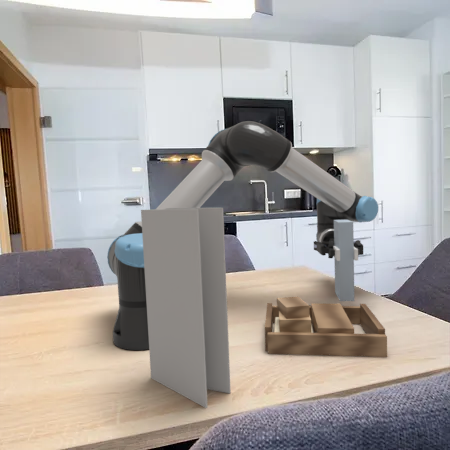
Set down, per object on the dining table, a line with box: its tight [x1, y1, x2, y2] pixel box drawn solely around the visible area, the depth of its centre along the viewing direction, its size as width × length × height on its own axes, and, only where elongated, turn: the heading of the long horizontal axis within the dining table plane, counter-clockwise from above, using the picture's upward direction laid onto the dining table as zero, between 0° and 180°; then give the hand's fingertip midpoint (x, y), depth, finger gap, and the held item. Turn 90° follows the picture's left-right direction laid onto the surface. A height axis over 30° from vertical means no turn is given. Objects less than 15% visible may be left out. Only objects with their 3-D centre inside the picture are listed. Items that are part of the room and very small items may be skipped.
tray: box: [264, 302, 388, 358], centre depth 79 cm, size 23×18×5 cm
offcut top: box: [276, 296, 310, 319], centre depth 79 cm, size 5×7×2 cm
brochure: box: [140, 207, 232, 409], centre depth 60 cm, size 14×6×30 cm, turn 47°
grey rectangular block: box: [333, 220, 355, 302], centre depth 93 cm, size 4×8×20 cm, turn 172°
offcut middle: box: [279, 311, 312, 333], centre depth 79 cm, size 6×9×3 cm
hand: (347, 255), depth 88 cm, fingers closed on grey rectangular block, 3 cm apart
